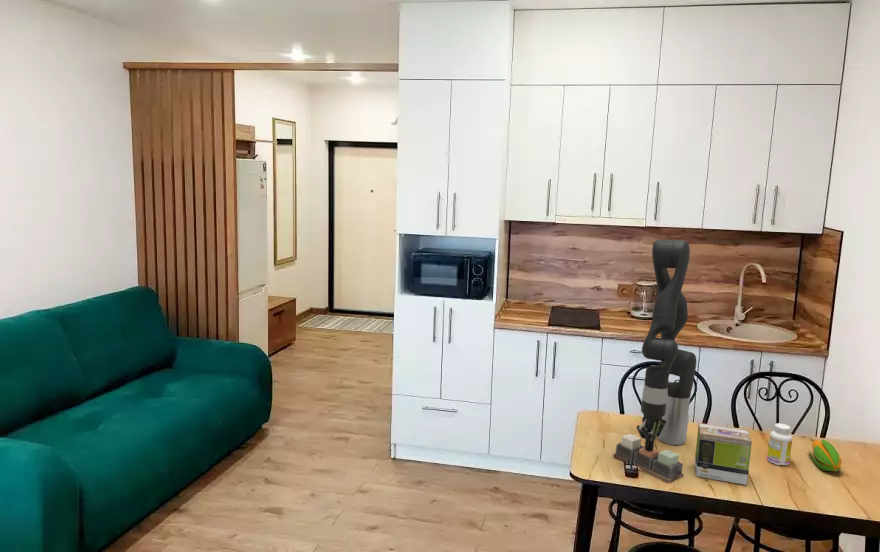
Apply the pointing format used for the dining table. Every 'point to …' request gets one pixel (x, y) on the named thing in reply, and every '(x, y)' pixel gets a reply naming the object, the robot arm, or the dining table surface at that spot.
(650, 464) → the grey button tray
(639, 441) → the button ivory
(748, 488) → the dining table surface
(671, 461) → the button sage
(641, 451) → the button terracotta
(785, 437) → the supplement bottle
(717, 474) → the tea box
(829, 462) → the corn
